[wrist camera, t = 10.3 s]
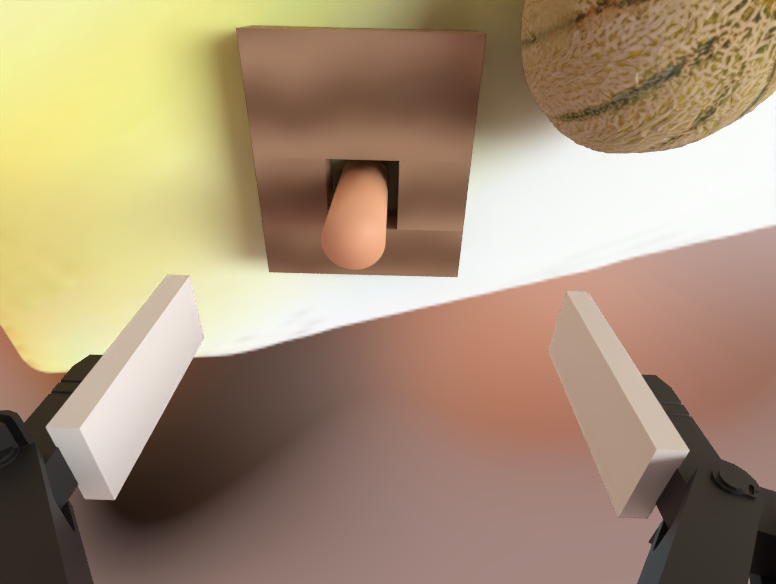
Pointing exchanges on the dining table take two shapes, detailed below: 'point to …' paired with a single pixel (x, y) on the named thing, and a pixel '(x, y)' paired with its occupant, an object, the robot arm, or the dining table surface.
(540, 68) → the cantaloupe
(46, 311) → the dining table surface
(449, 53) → the socket block
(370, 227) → the peg
